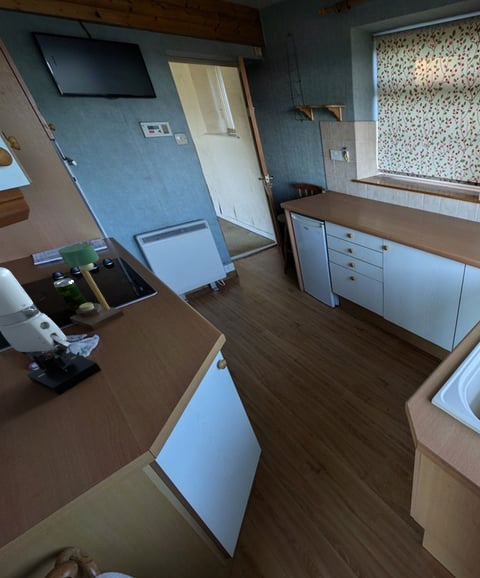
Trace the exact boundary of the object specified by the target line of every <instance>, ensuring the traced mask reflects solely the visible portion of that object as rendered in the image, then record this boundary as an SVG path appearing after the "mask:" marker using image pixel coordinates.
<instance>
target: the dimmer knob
mask: <svg viewBox="0 0 480 578" xmlns="http://www.w3.org/2000/svg"><path fill="white" fill-rule="evenodd" d="M54 351H55V352H57V351H58V349H54ZM45 352H46V353H44V354H42V355H41V356H39V358H38V360H39V362H40V363H41V364H42V365H43V366H44V368H45V369H46V370H47V371H48V372H55V371H58V370H61V369H60V368H59V366H58V365H57V364H56V363H55V361H54V360H53V359H54V357H53V356H52V355H51V354H50V353H48V352H47V351H45Z"/></svg>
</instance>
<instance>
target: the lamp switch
mask: <svg viewBox="0 0 480 578" xmlns="http://www.w3.org/2000/svg"><path fill="white" fill-rule="evenodd" d="M93 308H94V305H93V302H90V301H89V302H87V303H85V304H82V305H81V306H80V309H81V310H82V311H88V310H91V309H93Z"/></svg>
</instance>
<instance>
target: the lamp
mask: <svg viewBox="0 0 480 578" xmlns="http://www.w3.org/2000/svg"><path fill="white" fill-rule="evenodd" d="M58 254H59V255H60V257H61V258H62V260H63V261H64V264H65V265H66V267H69V268H78V269H79V271H80V272H81V274H82V275H83V278H84V279H85V281H86V282H87V284H88V285H89V287H90V289H91V290H92V292H93V294H94V295H95V297H96V298H97V300H98V302H99V304H101V305H102V307H103V309H104V310H105V311H107V310H109V309H110V308H109V307H110V306H109V304H108V303H107V301H106V299H105V297H104V296H103V294H102V293H101V291H100V289H99V288H98V285H97V284H96V282H95V281H94V278H93V277H92V276H91V274H90V271H92V270H93V269H94V263H96V262H98V261H99V259H100V257H99V255H98V254H97V252H96V250H95V248H94V246H93V244H92V243H89V242H82V243H75V244H71V245H66V246H64V247H62V248H60V249H58Z"/></svg>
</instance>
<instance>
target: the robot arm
mask: <svg viewBox="0 0 480 578" xmlns="http://www.w3.org/2000/svg"><path fill="white" fill-rule="evenodd" d="M0 332H1V334H2V336H3V337H4V338H5V340H6V342H8V344H9V345H10V346H11V347H12V350H14V351H16V352H18V353H21V354H23V355H25V356H27V357H28V359H30V360H32V361H33V362H34V364H36V366H37V367H38V369H39V368H40V369H41V370H45V368H44V366H43V365H42V364H41V363H40V362H39V360H38V358H39V356H41V355H42V354H44V353H46V352H48V353H50V354H51V355H52V356H53V357H54V359H53V360H54V361H55V363H56V364H57V365H58V366H59V368H60V369H64V368H65V367H67V366H68V365H69V364H70V363H71V362H72V360H71V358H70V357H69V356H68V355H67V353H68V349H69V348H70V347H71V346H72V344H71V343H70V342H68V341H67V340H68V338H67V336H66V335H65V333H64V332H63V331H62V330H61V328H60V327H59V326H58V325H57V324H56V323H55V322H54V321H53V320H52V319H51V318H50V317H48V315H46V314H45V313H44V312H41V311H40V310H39V308H38V307H37V306H36V304H35V303H34V302H33V301H32V299H31V297H30V296H29V295H28V293H27V292H26V290H25V289H24V288H23V287H22V285H21V284H20V283H19V281H18V280H17V279H16V277H15V276H14V275H13V273H12V272H11V271H10V270H9V269H8V268H5V267H0ZM54 350H58V351H57V352H55V351H54Z"/></svg>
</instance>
